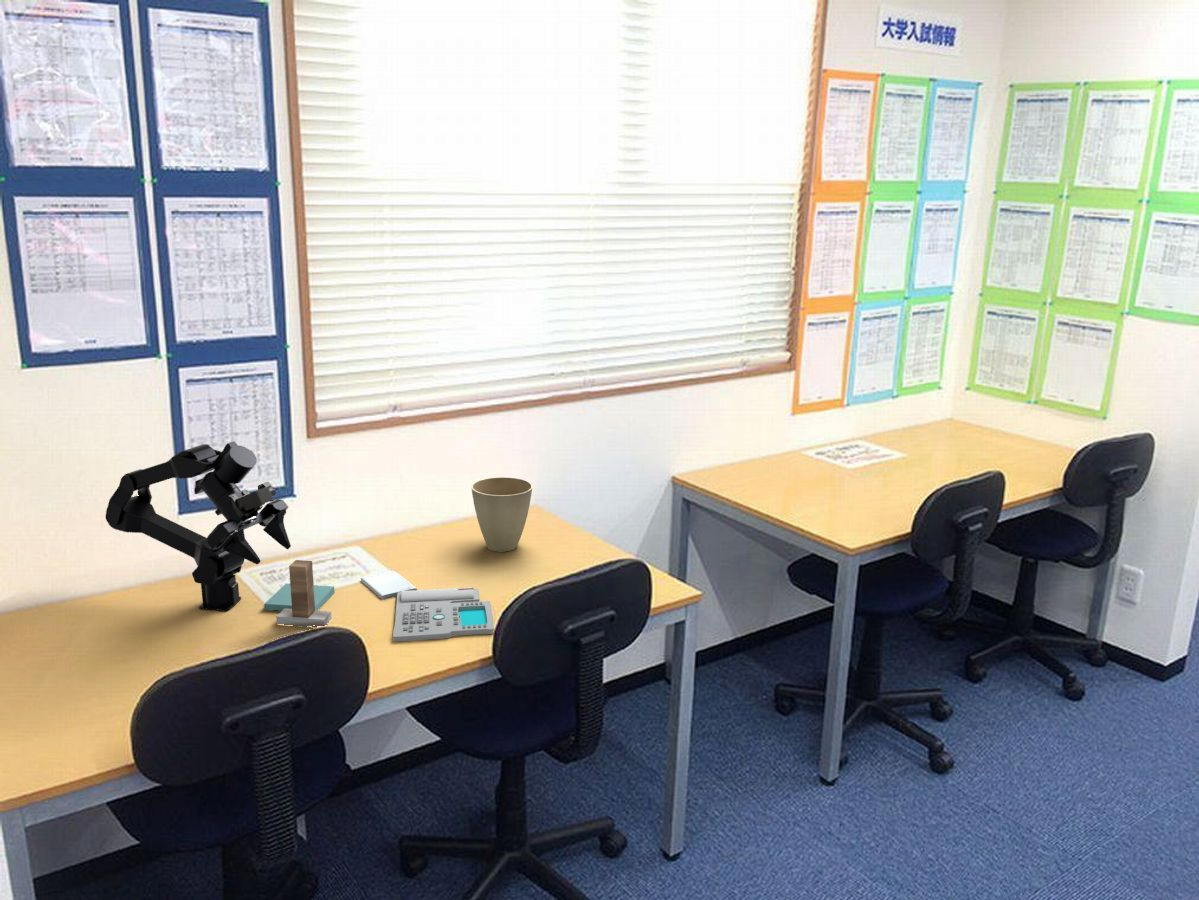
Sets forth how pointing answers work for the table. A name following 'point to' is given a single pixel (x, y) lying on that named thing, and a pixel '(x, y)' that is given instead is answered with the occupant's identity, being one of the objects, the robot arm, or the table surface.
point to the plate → (284, 601)
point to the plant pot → (501, 510)
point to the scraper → (302, 599)
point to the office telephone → (441, 614)
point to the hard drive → (387, 584)
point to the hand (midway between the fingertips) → (274, 555)
